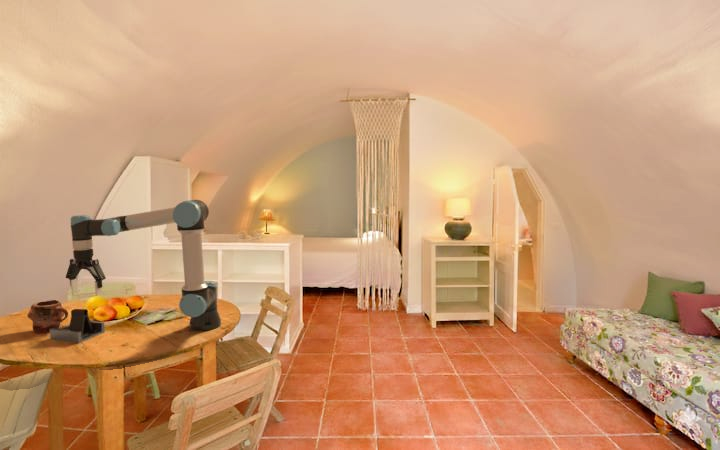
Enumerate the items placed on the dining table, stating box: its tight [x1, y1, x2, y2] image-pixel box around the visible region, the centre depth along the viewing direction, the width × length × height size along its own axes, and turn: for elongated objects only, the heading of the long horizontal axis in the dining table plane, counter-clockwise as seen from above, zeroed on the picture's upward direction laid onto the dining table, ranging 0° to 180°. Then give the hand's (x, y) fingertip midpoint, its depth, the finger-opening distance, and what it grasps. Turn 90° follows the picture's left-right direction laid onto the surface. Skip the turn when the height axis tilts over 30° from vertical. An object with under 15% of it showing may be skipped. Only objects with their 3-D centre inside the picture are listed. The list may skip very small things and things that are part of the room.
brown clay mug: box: [27, 299, 69, 335], centre depth 196 cm, size 20×12×14 cm, turn 89°
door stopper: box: [69, 308, 93, 337], centre depth 190 cm, size 9×6×12 cm, turn 177°
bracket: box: [49, 320, 106, 344], centre depth 191 cm, size 16×14×5 cm
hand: (87, 294), depth 188 cm, fingers open, 13 cm apart
